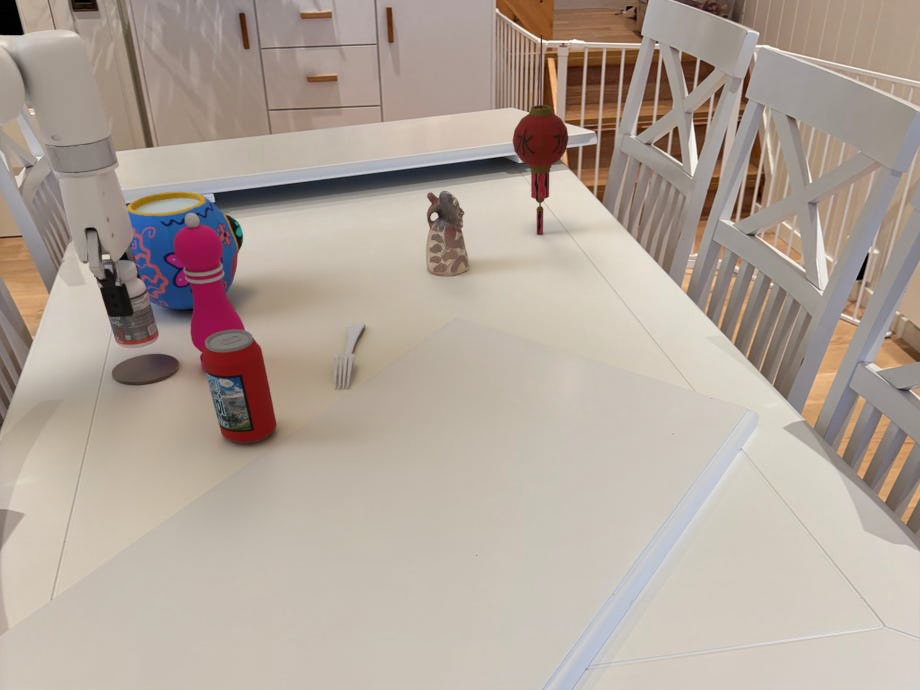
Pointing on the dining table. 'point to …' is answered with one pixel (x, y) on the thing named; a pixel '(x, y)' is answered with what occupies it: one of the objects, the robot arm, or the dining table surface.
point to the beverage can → (239, 386)
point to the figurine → (445, 237)
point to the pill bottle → (142, 322)
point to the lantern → (540, 147)
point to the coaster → (145, 369)
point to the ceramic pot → (155, 243)
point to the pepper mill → (205, 281)
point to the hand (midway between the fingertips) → (127, 304)
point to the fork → (347, 354)
